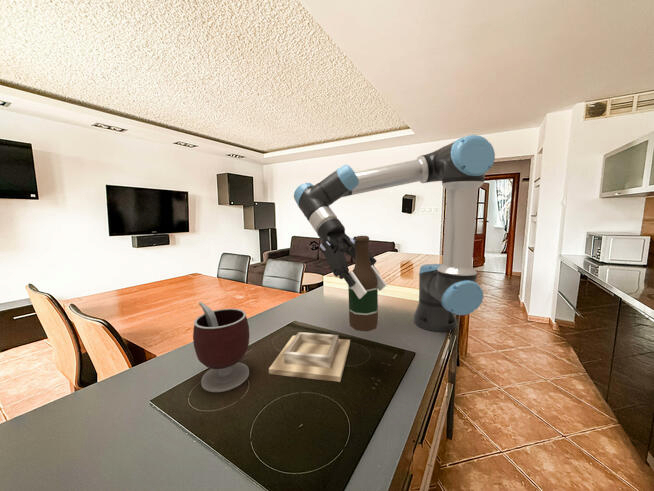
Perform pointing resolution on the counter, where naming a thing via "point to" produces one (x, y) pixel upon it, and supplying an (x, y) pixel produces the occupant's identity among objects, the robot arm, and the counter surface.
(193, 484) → the counter surface
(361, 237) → the beer bottle
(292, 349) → the bottle holder
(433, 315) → the robot arm
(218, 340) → the mate gourd
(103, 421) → the counter surface
